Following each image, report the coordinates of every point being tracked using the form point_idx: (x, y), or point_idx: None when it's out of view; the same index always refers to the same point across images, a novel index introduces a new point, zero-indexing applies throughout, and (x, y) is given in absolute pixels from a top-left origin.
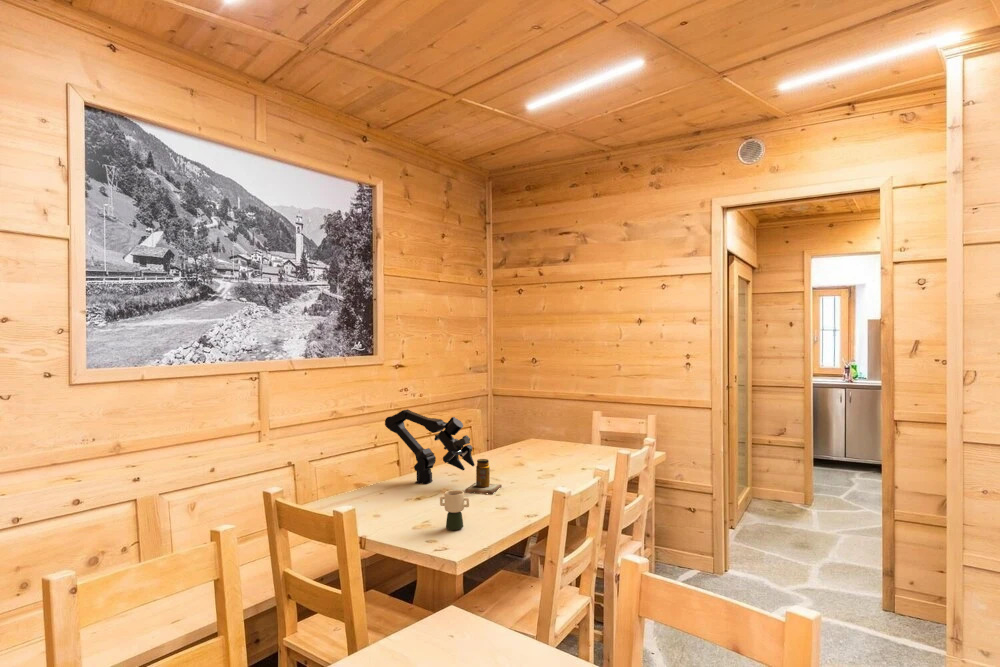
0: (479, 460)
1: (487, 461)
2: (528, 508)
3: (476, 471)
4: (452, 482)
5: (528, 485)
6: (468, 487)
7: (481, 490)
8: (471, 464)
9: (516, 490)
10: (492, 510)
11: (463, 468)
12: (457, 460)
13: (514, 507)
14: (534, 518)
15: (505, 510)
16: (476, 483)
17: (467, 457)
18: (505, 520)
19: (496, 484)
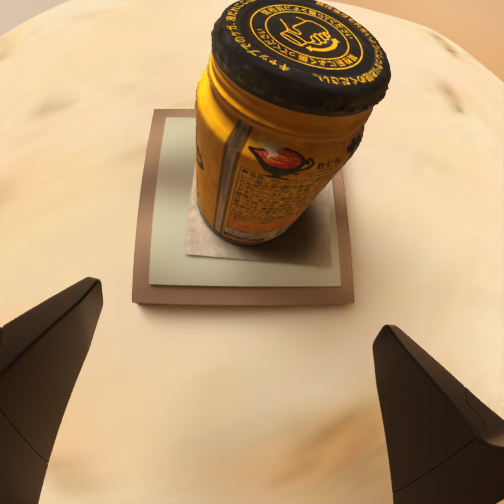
0: (357, 68)
1: (317, 7)
2: (409, 38)
3: (320, 188)
4: (115, 482)
5: (109, 39)
6: (293, 300)
7: (335, 185)
8: (90, 330)
9: (210, 52)
10: (478, 122)
11: (401, 337)
12: (502, 420)
13: (425, 65)
14: (453, 44)
15: (458, 89)
16: (282, 231)
17: (16, 433)
18: (497, 97)
19: (172, 128)
